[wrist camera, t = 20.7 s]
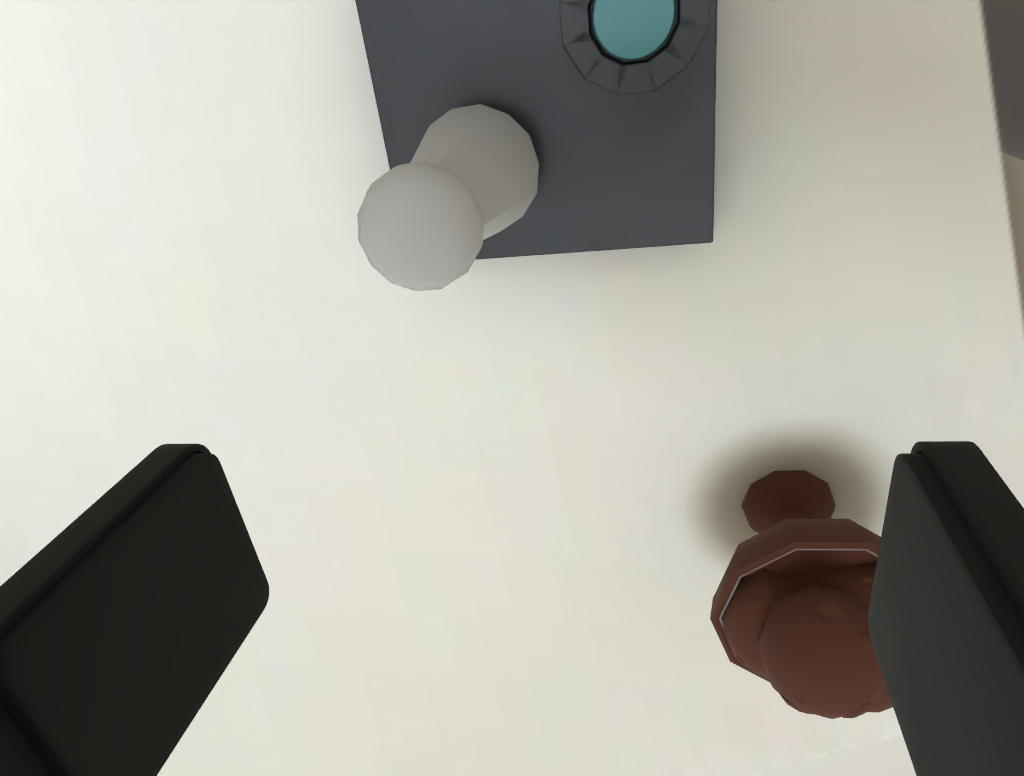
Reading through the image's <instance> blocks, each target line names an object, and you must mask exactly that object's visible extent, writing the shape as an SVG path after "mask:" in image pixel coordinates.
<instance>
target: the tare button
mask: <svg viewBox="0 0 1024 776" xmlns="http://www.w3.org/2000/svg"><path fill="white" fill-rule="evenodd" d="M674 13H675V6H674V0H596V1H595V5H594V11H593V23H594V29H595V32H596V35H597V38H598V39H599V41H600V43H601V44H602V46H603V47H604V48H605V49H606V50H607V51H609V52H610V53H611V54H613V55H615V56H617V57H620V58H624V59H637V58H641V57H644V56H646V55H648V54H650V53H652V52H653V51H655V50H656V49H657V48H658V47H659V46H660V45H661V44H662V43H663V42H664V40H665V39H666V38H667V36H668V34H669V32H670V30H671V27H672V24H673V20H674Z"/></svg>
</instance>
